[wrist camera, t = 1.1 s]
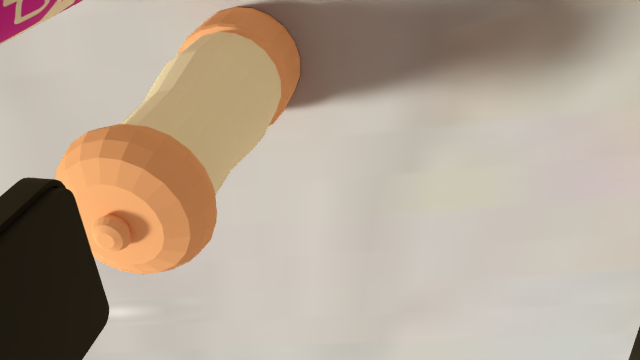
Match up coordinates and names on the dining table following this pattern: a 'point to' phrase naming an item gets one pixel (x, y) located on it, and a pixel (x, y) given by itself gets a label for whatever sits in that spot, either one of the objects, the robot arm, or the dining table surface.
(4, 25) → the supplement can
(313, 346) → the dining table surface
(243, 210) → the dining table surface
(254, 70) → the pepper shaker
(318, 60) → the dining table surface
